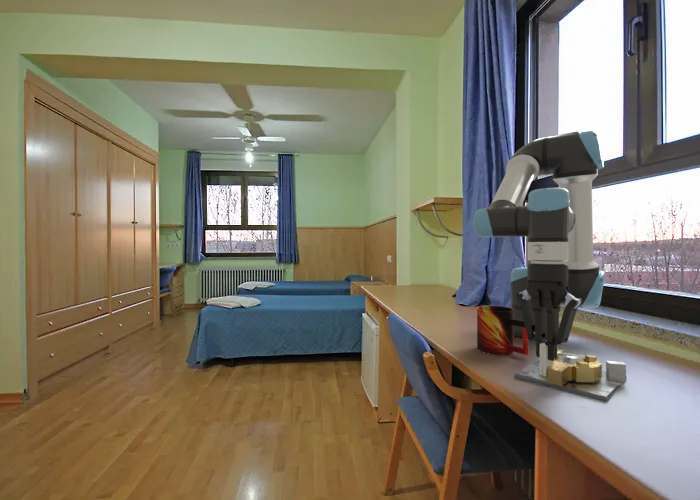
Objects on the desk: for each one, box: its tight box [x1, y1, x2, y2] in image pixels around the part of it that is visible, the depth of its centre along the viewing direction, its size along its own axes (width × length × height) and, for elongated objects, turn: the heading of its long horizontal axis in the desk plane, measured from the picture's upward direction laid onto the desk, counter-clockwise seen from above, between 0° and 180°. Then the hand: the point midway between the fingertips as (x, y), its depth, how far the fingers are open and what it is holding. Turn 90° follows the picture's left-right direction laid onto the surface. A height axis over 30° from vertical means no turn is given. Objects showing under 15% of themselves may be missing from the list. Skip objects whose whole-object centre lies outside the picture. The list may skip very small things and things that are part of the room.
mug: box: [476, 305, 529, 356], centre depth 99 cm, size 10×14×12 cm
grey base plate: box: [514, 352, 627, 403], centre depth 77 cm, size 17×18×5 cm
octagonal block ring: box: [548, 348, 603, 386], centre depth 76 cm, size 16×11×4 cm
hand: (546, 374), depth 74 cm, fingers closed
